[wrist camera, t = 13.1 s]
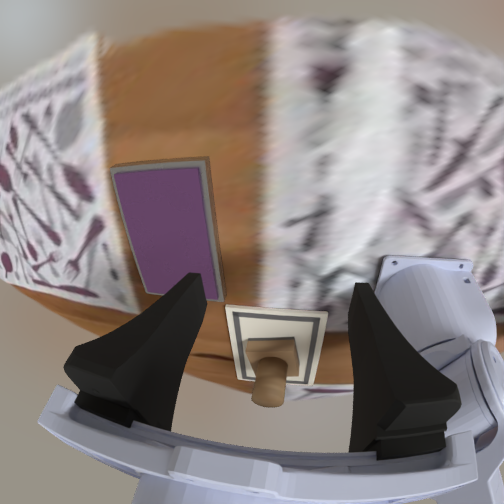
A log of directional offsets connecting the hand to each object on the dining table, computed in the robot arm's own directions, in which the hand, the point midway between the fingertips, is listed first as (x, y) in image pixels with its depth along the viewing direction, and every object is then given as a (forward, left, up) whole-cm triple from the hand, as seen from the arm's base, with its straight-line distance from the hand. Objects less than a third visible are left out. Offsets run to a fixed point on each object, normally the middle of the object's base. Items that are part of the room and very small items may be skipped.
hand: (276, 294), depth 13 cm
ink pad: (+10, +3, -10) cm, 14 cm away
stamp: (+1, +18, -10) cm, 20 cm away
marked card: (+1, +18, -10) cm, 21 cm away
